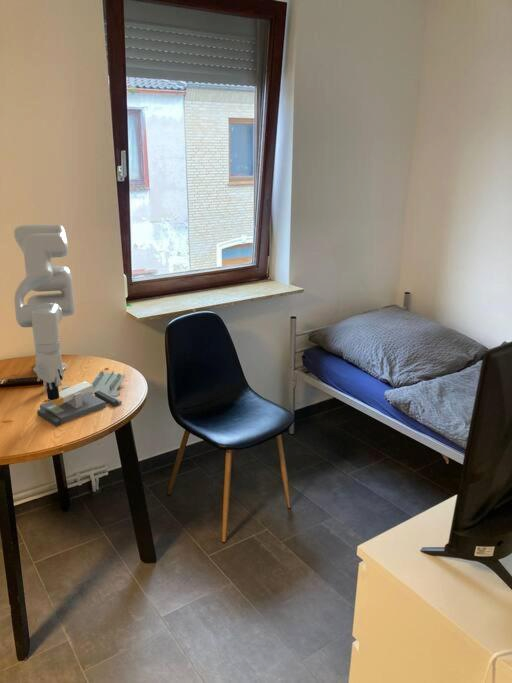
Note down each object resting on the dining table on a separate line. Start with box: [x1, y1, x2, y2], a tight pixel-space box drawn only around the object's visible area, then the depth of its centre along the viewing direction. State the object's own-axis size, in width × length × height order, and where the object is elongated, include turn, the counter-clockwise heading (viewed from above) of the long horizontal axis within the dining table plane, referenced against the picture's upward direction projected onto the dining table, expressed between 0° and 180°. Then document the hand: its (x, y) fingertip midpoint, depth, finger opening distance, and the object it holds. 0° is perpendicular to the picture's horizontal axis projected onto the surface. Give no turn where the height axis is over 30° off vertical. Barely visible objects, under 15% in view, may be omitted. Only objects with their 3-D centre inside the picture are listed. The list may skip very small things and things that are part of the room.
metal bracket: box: [88, 370, 127, 398], centre depth 205 cm, size 14×6×15 cm
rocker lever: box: [48, 380, 94, 406], centre depth 187 cm, size 6×14×2 cm, turn 138°
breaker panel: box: [39, 385, 107, 425], centre depth 188 cm, size 14×17×7 cm
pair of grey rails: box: [37, 391, 123, 428], centre depth 188 cm, size 13×25×2 cm, turn 138°
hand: (53, 398), depth 181 cm, fingers closed
